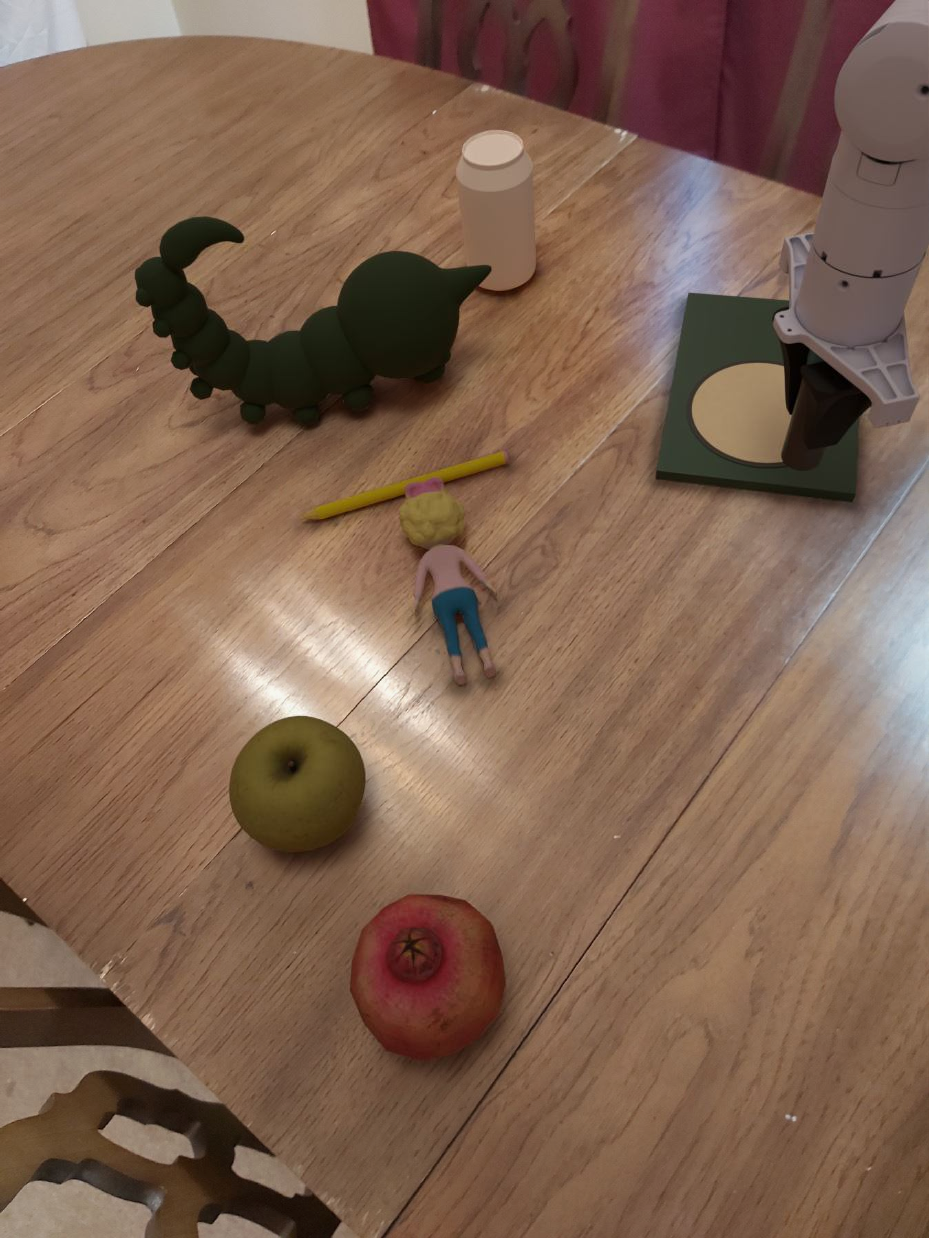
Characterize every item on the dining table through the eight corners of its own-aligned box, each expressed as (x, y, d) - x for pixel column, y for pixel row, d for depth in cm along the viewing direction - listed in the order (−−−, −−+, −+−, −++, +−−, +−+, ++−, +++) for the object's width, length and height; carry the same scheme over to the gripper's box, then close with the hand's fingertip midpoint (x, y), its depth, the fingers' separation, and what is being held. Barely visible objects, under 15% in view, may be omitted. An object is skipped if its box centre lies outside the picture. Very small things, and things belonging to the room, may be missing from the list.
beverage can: (547, 285, 82) (544, 156, 72) (482, 306, 82) (469, 179, 72) (521, 245, 86) (514, 117, 76) (458, 265, 85) (443, 138, 75)
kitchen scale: (687, 301, 79) (688, 291, 78) (859, 316, 77) (863, 304, 76) (655, 479, 69) (656, 469, 68) (852, 503, 67) (856, 492, 66)
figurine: (520, 676, 63) (466, 502, 70) (518, 646, 59) (461, 465, 66) (434, 698, 62) (389, 521, 70) (426, 669, 58) (380, 485, 66)
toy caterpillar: (227, 476, 76) (521, 388, 75) (110, 289, 60) (481, 174, 59) (218, 397, 81) (494, 314, 80) (109, 205, 65) (451, 98, 64)
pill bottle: (812, 438, 64) (850, 321, 55) (827, 467, 62) (868, 352, 54) (774, 446, 64) (805, 330, 55) (788, 475, 62) (823, 361, 54)
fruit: (350, 1056, 50) (307, 1025, 42) (382, 906, 54) (348, 851, 46) (498, 1082, 49) (483, 1056, 40) (519, 927, 53) (510, 874, 45)
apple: (399, 821, 57) (379, 776, 51) (284, 895, 55) (250, 857, 49) (340, 730, 61) (315, 677, 55) (231, 796, 59) (193, 750, 53)
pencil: (505, 456, 72) (504, 447, 71) (509, 465, 71) (508, 456, 70) (298, 518, 71) (295, 509, 70) (301, 527, 70) (298, 519, 69)
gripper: (747, 179, 53) (715, 362, 64) (850, 350, 45) (792, 523, 56) (868, 155, 53) (815, 342, 64) (991, 321, 45) (905, 500, 57)
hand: (811, 425), depth 60 cm, fingers closed on pill bottle, 2 cm apart
